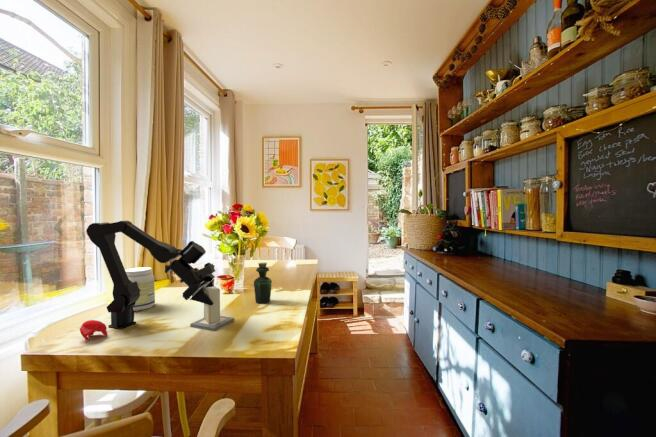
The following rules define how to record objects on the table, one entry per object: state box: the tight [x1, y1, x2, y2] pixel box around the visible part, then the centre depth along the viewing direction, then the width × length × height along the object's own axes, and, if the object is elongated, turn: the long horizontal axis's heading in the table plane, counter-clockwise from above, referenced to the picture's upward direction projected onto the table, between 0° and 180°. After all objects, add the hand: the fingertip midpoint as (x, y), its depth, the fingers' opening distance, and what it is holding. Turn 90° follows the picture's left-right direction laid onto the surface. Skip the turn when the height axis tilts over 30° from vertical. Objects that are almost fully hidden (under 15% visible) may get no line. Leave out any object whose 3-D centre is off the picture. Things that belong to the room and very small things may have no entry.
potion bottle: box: [253, 262, 273, 305], centre depth 144 cm, size 8×8×18 cm
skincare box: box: [203, 285, 221, 323], centre depth 118 cm, size 6×4×12 cm
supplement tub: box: [125, 266, 156, 312], centre depth 137 cm, size 12×12×17 cm
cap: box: [79, 319, 108, 342], centre depth 105 cm, size 8×6×6 cm
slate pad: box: [189, 315, 235, 332], centre depth 118 cm, size 11×11×1 cm
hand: (216, 301), depth 118 cm, fingers open, 8 cm apart
